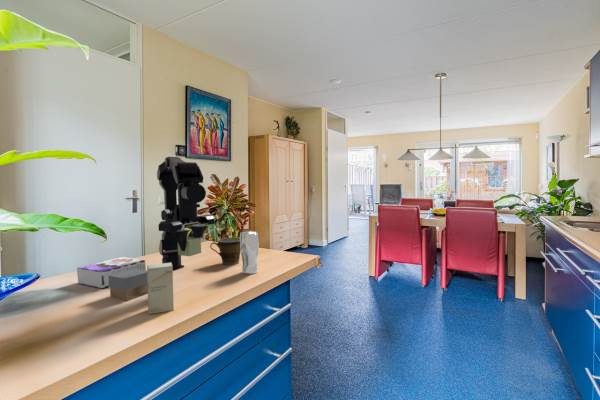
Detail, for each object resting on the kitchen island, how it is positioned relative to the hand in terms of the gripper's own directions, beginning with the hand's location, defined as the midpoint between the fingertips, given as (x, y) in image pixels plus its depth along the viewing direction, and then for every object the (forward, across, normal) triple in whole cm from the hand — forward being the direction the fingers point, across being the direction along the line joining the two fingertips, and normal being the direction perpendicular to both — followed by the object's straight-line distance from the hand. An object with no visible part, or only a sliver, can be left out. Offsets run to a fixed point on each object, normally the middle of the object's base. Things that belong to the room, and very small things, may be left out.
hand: (189, 249), depth 101 cm
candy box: (+10, +14, -32) cm, 36 cm away
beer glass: (+13, -21, +8) cm, 26 cm away
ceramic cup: (+13, -27, -8) cm, 31 cm away
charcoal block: (+9, +13, -12) cm, 20 cm away
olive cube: (+2, 0, 0) cm, 2 cm away
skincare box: (+13, +17, +6) cm, 22 cm away
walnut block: (+13, +13, -12) cm, 22 cm away
